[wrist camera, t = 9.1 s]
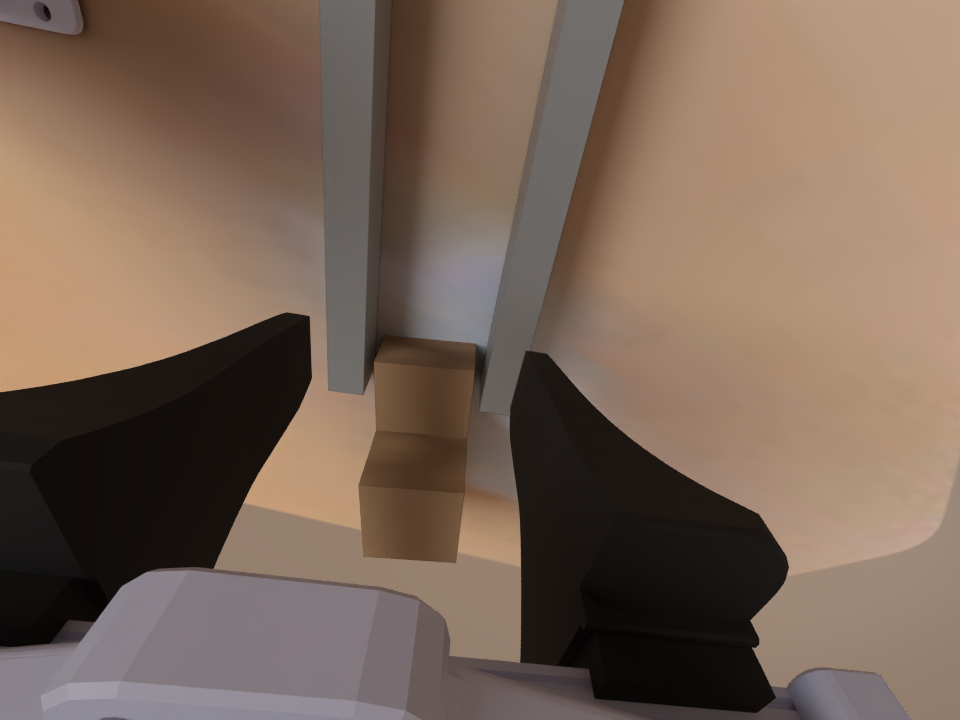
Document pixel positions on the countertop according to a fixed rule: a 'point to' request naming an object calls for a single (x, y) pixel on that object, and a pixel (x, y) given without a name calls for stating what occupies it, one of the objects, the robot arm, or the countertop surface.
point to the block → (417, 450)
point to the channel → (360, 173)
